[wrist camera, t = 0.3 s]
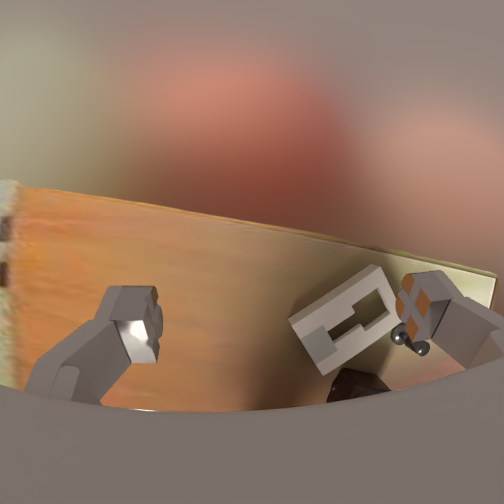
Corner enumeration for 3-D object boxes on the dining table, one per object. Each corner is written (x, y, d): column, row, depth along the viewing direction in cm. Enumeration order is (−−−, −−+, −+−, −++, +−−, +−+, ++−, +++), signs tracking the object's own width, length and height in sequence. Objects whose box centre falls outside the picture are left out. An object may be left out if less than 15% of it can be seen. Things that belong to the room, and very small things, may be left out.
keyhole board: (394, 313, 66) (404, 319, 61) (317, 366, 66) (322, 376, 61) (370, 263, 65) (380, 266, 60) (287, 318, 65) (291, 325, 60)
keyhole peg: (410, 335, 67) (435, 350, 55) (394, 346, 67) (418, 364, 55) (403, 319, 66) (429, 333, 55) (387, 331, 66) (411, 347, 55)
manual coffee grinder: (339, 366, 66) (368, 404, 48) (377, 374, 67) (411, 409, 49) (314, 418, 67) (333, 464, 49) (351, 424, 68) (376, 465, 50)
